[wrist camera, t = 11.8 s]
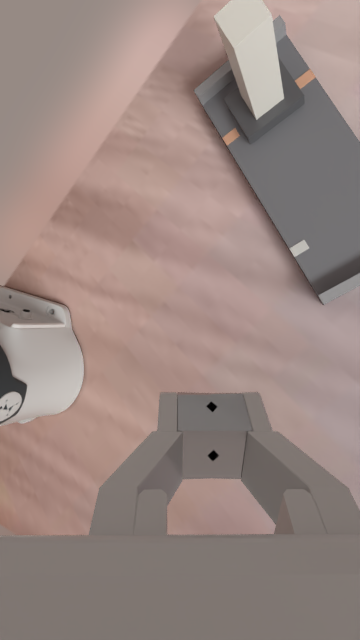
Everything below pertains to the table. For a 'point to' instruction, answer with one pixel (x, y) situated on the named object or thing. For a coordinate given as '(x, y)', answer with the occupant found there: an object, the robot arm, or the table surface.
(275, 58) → the fader
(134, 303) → the table surface
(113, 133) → the table surface
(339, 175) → the track board
